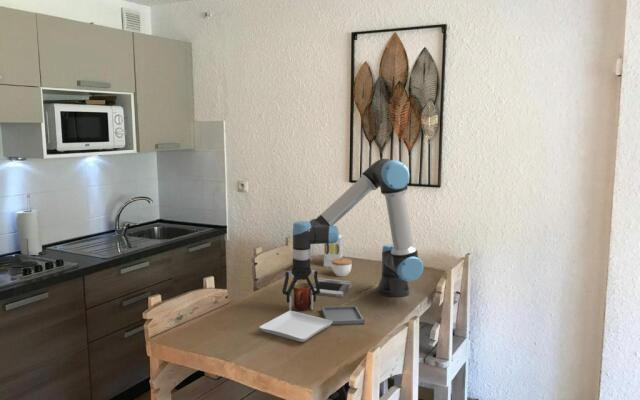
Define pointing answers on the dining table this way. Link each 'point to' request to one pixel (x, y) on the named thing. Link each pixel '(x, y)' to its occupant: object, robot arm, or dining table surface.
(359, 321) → the rest tray
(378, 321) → the dining table surface
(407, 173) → the robot arm
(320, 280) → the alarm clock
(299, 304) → the mug
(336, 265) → the lidded jar
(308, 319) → the salad plate
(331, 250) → the supplement box
